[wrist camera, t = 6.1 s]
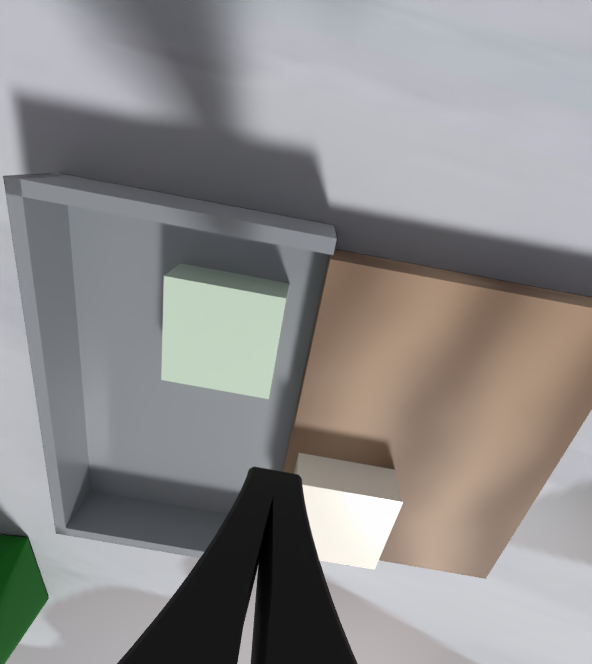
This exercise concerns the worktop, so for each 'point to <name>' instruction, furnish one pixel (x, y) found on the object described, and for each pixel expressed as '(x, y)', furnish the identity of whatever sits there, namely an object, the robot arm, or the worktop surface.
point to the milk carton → (18, 592)
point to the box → (149, 354)
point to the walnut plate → (444, 398)
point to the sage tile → (221, 329)
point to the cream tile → (349, 508)
